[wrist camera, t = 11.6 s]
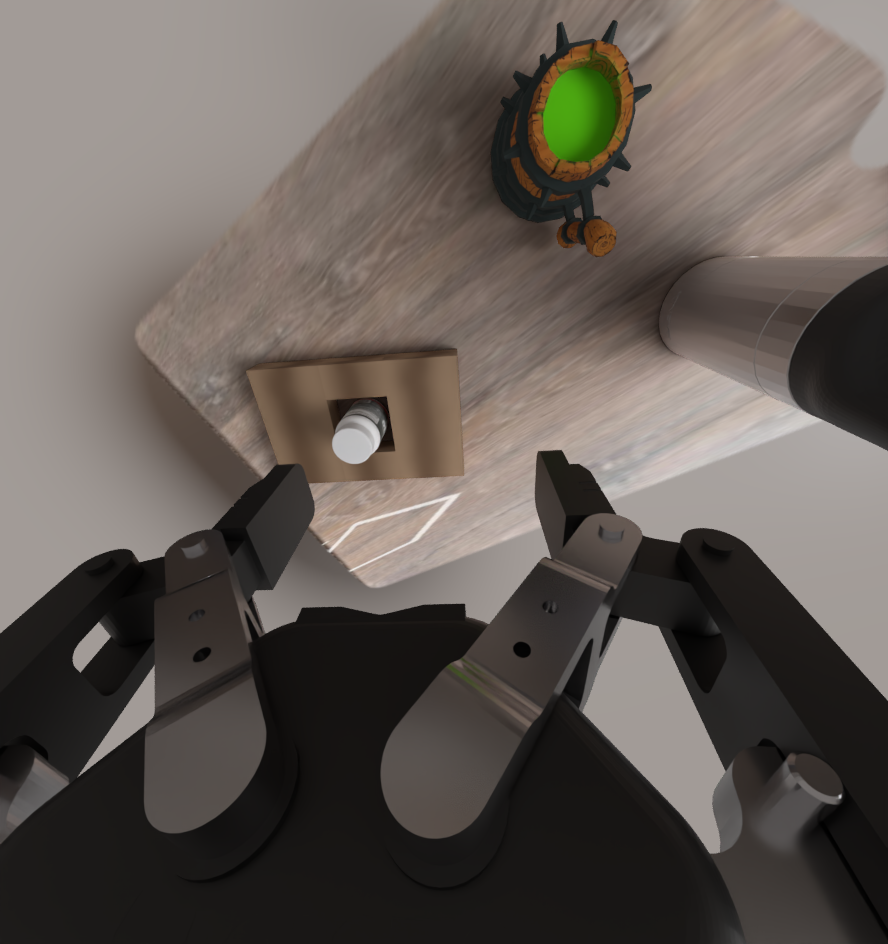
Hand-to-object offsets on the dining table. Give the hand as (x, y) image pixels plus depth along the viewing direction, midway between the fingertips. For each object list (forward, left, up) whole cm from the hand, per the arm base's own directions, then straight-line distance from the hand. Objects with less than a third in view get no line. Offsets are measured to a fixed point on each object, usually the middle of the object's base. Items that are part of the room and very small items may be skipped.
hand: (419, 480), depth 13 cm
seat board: (+10, +9, -30) cm, 33 cm away
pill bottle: (+10, +9, -30) cm, 33 cm away
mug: (-10, -12, -30) cm, 34 cm away
